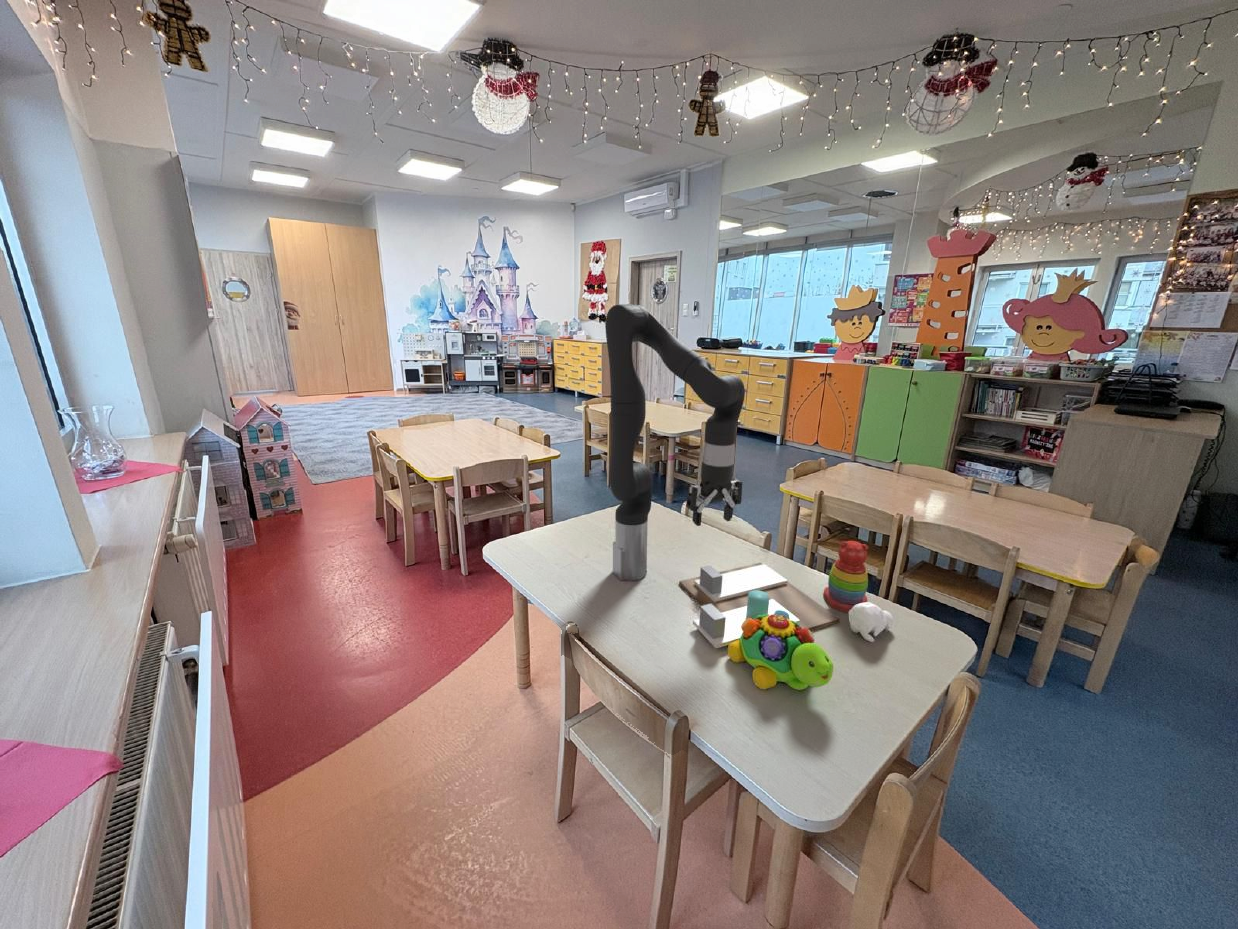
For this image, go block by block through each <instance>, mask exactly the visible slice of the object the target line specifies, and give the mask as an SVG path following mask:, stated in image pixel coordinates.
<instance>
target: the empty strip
mask: <svg viewBox="0 0 1238 929" xmlns="http://www.w3.org/2000/svg"><path fill="white" fill-rule="evenodd" d="M762 564H763V563H762ZM719 572H720V571H719ZM719 572H718V570H716V569H715V568H714V567H713V566H712V565H711V564H709V565H705V566H700V573H699V577H700V579H698V580H694V584H695V585H696V586H697V587H698V588H699V589H701V590H702V591H703V592H704V593H705V594H706V595H707V596H708V597H709V598H710V599H711V600H712V601H713V602H717V601H721V600H725V599H728V598H732V597H736V596H740V595H744V594H748V593H749V592H751V591H755V590H758V591H760V590H764V589H768V588H772V587H776V586H779V585H783V584H787V582H788V579H786V578H785V577H783V576H782V575H781V574H779V573H778V572H776V571H775V570H774V569H773V568H771V567H769V566H768V565H766V564H765V563H764V564H763V565H759V566H754V567H750V568H746V569H741V570H737V571H733V572H728V573H724V574H720V573H719Z"/></svg>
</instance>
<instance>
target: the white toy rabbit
mask: <svg viewBox="0 0 1238 929" xmlns="http://www.w3.org/2000/svg"><path fill="white" fill-rule="evenodd" d="M893 620H894V618H893V616H892V614H891V613H890V612H889V611H887V610H882V608H881V607H880V606H878V605H877V604H874V603H872V602H870V601H867V602H865V603H859V604H857V605H855V606H854V607H853V608H852V609H851V610H850V611H849V612H848V622H849V625H850V629H851V630H852V631H853V632H854V633H860V635H861V636H862V637H863V638H864V640H865V641H868V642H871V643H874V642H875V639H874V638H873V637H877V636H878V635H879V634H880V633H881V632H882V631H883V630H886V631H888V630H889V629H892V627H891V625H892V623H893ZM872 629H874V631H873V636H872V635H871V634H869V633H870V632H872Z"/></svg>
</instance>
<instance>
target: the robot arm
mask: <svg viewBox="0 0 1238 929" xmlns="http://www.w3.org/2000/svg"><path fill="white" fill-rule="evenodd" d="M607 311H608V312H607V314H606V318H605V323H604V324H605V325H604V326H605V338H606V347H607V352H608V354H607V355H608V361H609V362H608V363H609V380H610V381H609V382H610V383H609V384H610V420H611V423H610V424H611V448H610V450H611V451H610V463H609V464H610V466H609V479H608V480H609V489H610V491H611V493H612V495H613V497H614V498H615V499H616V500H617V501H620V502H621V503H620V504H619V505H618V506H617V508H616V509H615V514H614V515H615V523H614V524H615V527H614V528H615V534H614V535H615V538H614V540H615V541H613V542H612V572H613V573H614V574H615V576H616V577H617V578H618V579H619V581H638V580H642V579H643V578H645V577H646V575H647V573H648V572H647V571H648V569H647V568H648V565H647V564H648V529H649V527H648V525H649V524H648V522H649V520H648V519H649V513H650V512H651V508H652V498H653V484H654V483H653V477H652V473H651V470H650V469H649V467H648V466H647V465H645V464H644V463H643V462H634V458H635V457H634V454H635V449H636V446H637V443H638V440H639V438H640V436H641V433H642V431H643V429H644V424H645V422H646V413H647V412H646V410H647V409H646V408H647V407H646V405H647V403H646V401H647V400H646V392H645V389H644V386H643V383H642V381H641V379H640V377H639V375H638V373H637V371H636V369H635V366H634V360H633V343H636V342H639V343H642V344H644V345H645V346H648V348H651V349H652V350H654V351H655V352H656V354H658V355H659V357H660V359H661V360H662V362H663V363H664V365H665V367H666V368H667V369H668V370H669V371H670V372H671V373H672V374H673V375H674V376H676V377H677V378H678V379H680V380H682V381H683V382H685V384H687V385H689V387H690V388H691V389H692V391H693V392H694V394H696V395H697V397H698V398H699V399H700V400H701V401H702V402H703V403H704V404H705V405H706V406H709V407H711V408H712V409H713V410H714V411H713V414H711V416H709V417H708V418H707V419H706V422H705V431H704V442H703V447H702V452H701V465H700V466H701V467H700V483H699V484H698V485H693V484H692V483H691V484H689V485H688V486H687V487H688V488H687V495H686V496H687V497H686V502H685V506H686V508H687V509H688V510H690V511H691V512H692V520H691V521H692V522H693V523H694V525H695V526H697V527H701V526H702V517H703V516H702V515H703V512H702V511H703V509H704V508H705V507H706V506H708V505H709V504H710V503H711V502H716V501H719V502H720V501H723V502H724V503H725V504H724V506H723V507H724V508H723V519H724V520H725V521H726V522H730V521H731V520H732V519H733V514H734V507H735V506H736V505H741V504H742V498H743V497H742V496H743V482H742V481H740V480H739V479H737V478H734V479H733V475H734V463H735V455H736V454H735V453H736V452H735V451H736V450H735V449H736V448H735V447H736V446H735V442H736V434H737V433H736V432H737V424H738V421H739V419H740V416H741V413H742V408H743V405H744V402H745V398H746V397H745V395H746V390H745V389H746V388H745V384H744V382H743V380H742V379H741V378H740V377H739V376H738V375H736V374H726V375H720V376H719V375H717V374H716V373H714V372H713V371H712V370H713V369H712V364H711V363H710V362H709V360H707V359H706V358H705V357H703V356H702V355H701V354H699V353H698V352H696V351H695V350H693V349H692V348H691V347H689V346H687V345H686V344H685V343H684V342H682V341H680V340H679V339H678V338H677V337H676V336H675V335H674V334H672V332H670V331H669V330H668V329H667V328H666V327H665V326H664V325H663V324H662V323H661V322H660V321H659V320H658V319H657V318H656V317H655V316H654V315H653V314H652V313H651V312H650V311H649V310H648V309H647V308H645V307H644V306H642V305H639V304H623V303H622V304H615V305H613V306H611V307H610V308H609V309H608V310H607ZM729 491H731V495H730V493H729ZM699 492H700V493H699Z"/></svg>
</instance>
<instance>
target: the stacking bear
mask: <svg viewBox="0 0 1238 929" xmlns="http://www.w3.org/2000/svg"><path fill="white" fill-rule="evenodd" d="M868 550H869V546H868V545H867V544H865V543H863V544H862V543H861V542H859V541H856V540H847V541H845V540H843V541H841V542H840V543H839V548H838V557H839V558H837V559H836V560H835V562H834V563H833V565H832V567H831V569H830V571H829V574H828V578H827V579H828V583H827V584H828V585H827V586H826V587H824V589H823V598H824V600H825V602H826V603H827V605H829V606H830V607H832V608H833V609H835V610H838V611H841V612H843V613H849V611H850V610H851V609H852V608H853V607H854V606H855V605H857V604H859V603H865V602H868V597H867V595H866V593H867V591H868V587H869V577H868V575H869V574H868V570H867V567H866V565H865V562H866V560H867V557H868Z"/></svg>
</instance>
